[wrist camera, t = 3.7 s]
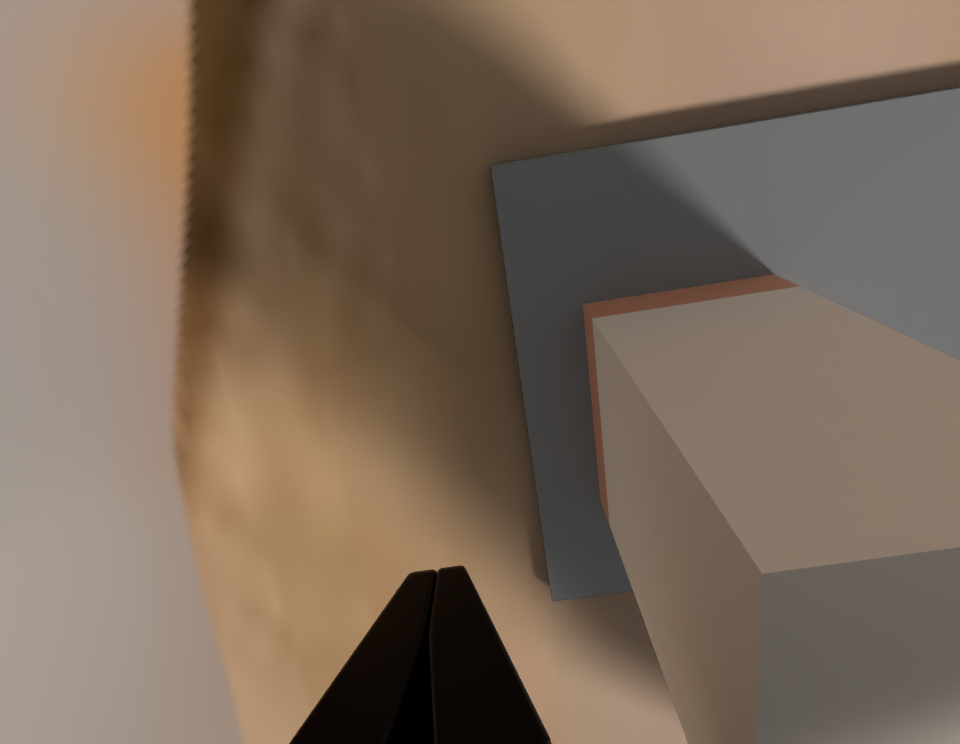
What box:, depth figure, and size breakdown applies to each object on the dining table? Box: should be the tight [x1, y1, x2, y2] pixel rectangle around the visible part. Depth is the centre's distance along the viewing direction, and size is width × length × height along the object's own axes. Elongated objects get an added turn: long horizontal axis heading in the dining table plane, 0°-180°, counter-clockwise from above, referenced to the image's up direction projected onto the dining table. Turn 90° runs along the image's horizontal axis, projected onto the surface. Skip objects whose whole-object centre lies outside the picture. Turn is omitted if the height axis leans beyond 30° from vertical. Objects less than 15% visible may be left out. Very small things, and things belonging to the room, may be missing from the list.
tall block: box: [583, 274, 960, 744], centre depth 9 cm, size 4×5×8 cm
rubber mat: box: [490, 87, 960, 601], centre depth 13 cm, size 13×11×1 cm
